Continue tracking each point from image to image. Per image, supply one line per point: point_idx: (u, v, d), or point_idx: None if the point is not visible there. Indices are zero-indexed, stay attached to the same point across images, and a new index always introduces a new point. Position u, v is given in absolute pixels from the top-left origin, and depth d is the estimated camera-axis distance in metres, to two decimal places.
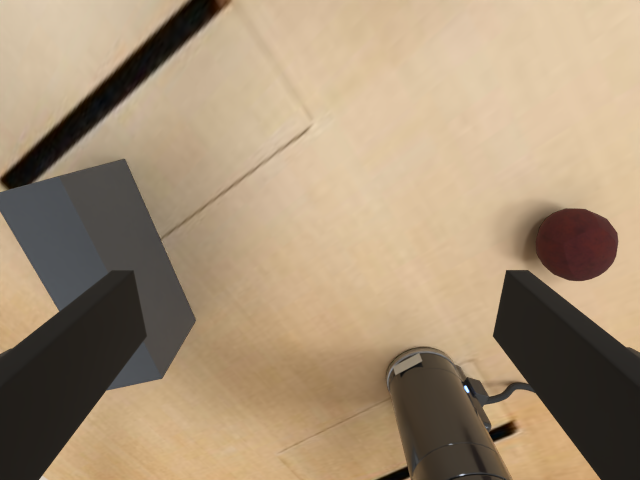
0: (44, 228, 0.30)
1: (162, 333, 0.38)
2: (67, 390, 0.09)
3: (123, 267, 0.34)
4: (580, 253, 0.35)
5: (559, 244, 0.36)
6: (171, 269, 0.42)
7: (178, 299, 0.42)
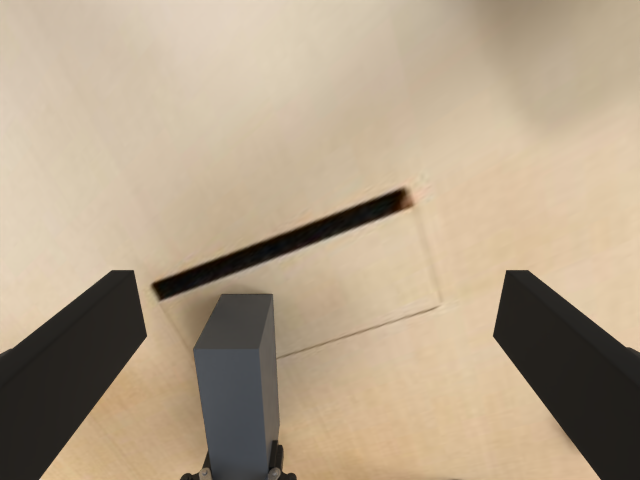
0: (226, 380, 0.35)
1: None
2: (67, 390, 0.09)
3: (267, 407, 0.39)
4: None
5: None
6: None
7: (277, 411, 0.47)
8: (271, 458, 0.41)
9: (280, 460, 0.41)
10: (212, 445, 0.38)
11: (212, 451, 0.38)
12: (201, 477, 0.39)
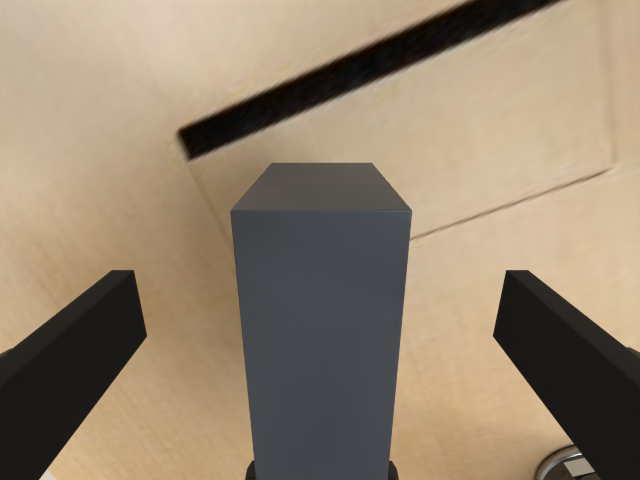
0: (314, 305, 0.13)
1: None
2: (67, 390, 0.09)
3: None
4: None
5: None
6: None
7: None
8: None
9: None
10: (266, 466, 0.16)
11: (265, 479, 0.17)
12: None
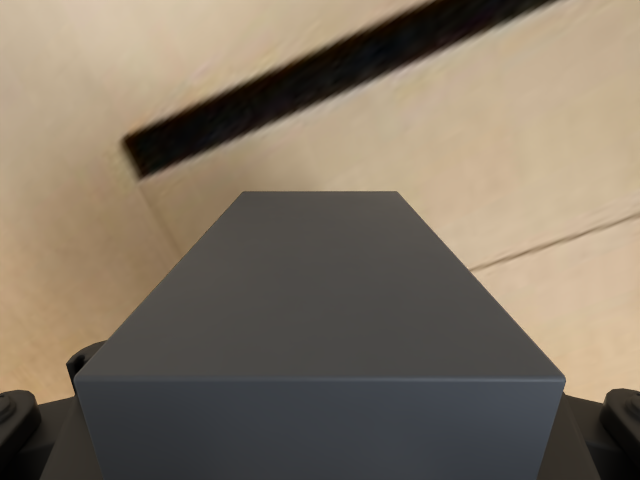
0: None
1: None
2: None
3: None
4: None
5: None
6: None
7: None
8: None
9: None
10: None
11: None
12: None
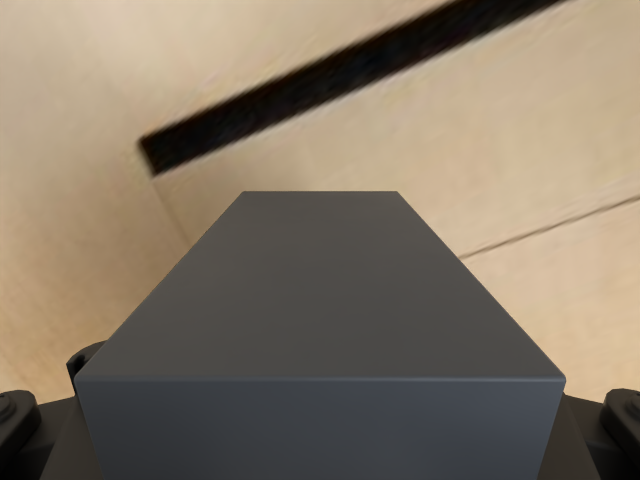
0: None
1: None
2: None
3: None
4: None
5: None
6: None
7: None
8: None
9: None
10: None
11: None
12: None
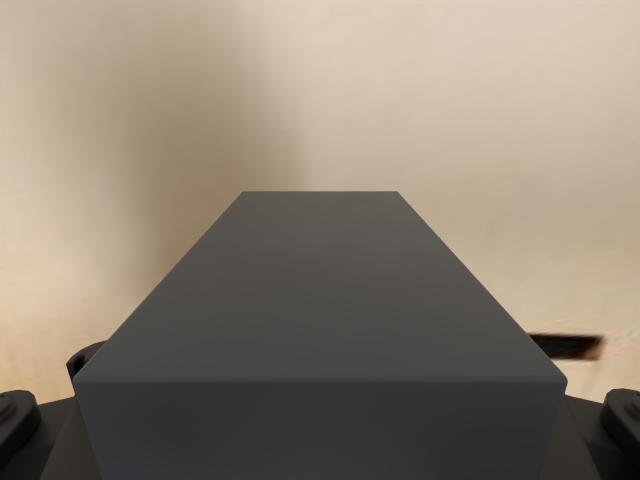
0: None
1: None
2: None
3: None
4: None
5: None
6: None
7: None
8: None
9: None
10: None
11: None
12: None
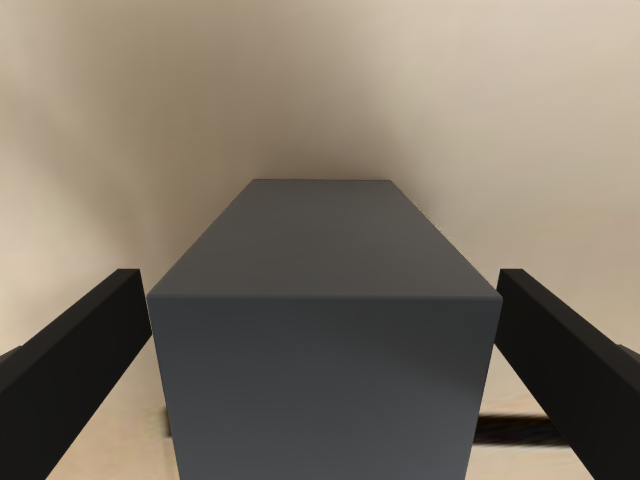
0: (310, 454, 0.07)
1: None
2: (76, 386, 0.09)
3: None
4: None
5: None
6: None
7: None
8: None
9: None
10: None
11: None
12: None
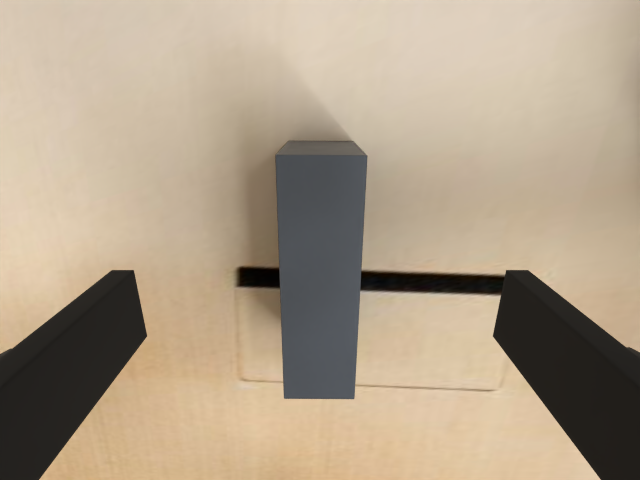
0: (317, 208, 0.25)
1: None
2: (67, 390, 0.09)
3: None
4: None
5: None
6: None
7: None
8: None
9: None
10: (287, 313, 0.28)
11: (286, 322, 0.28)
12: None
